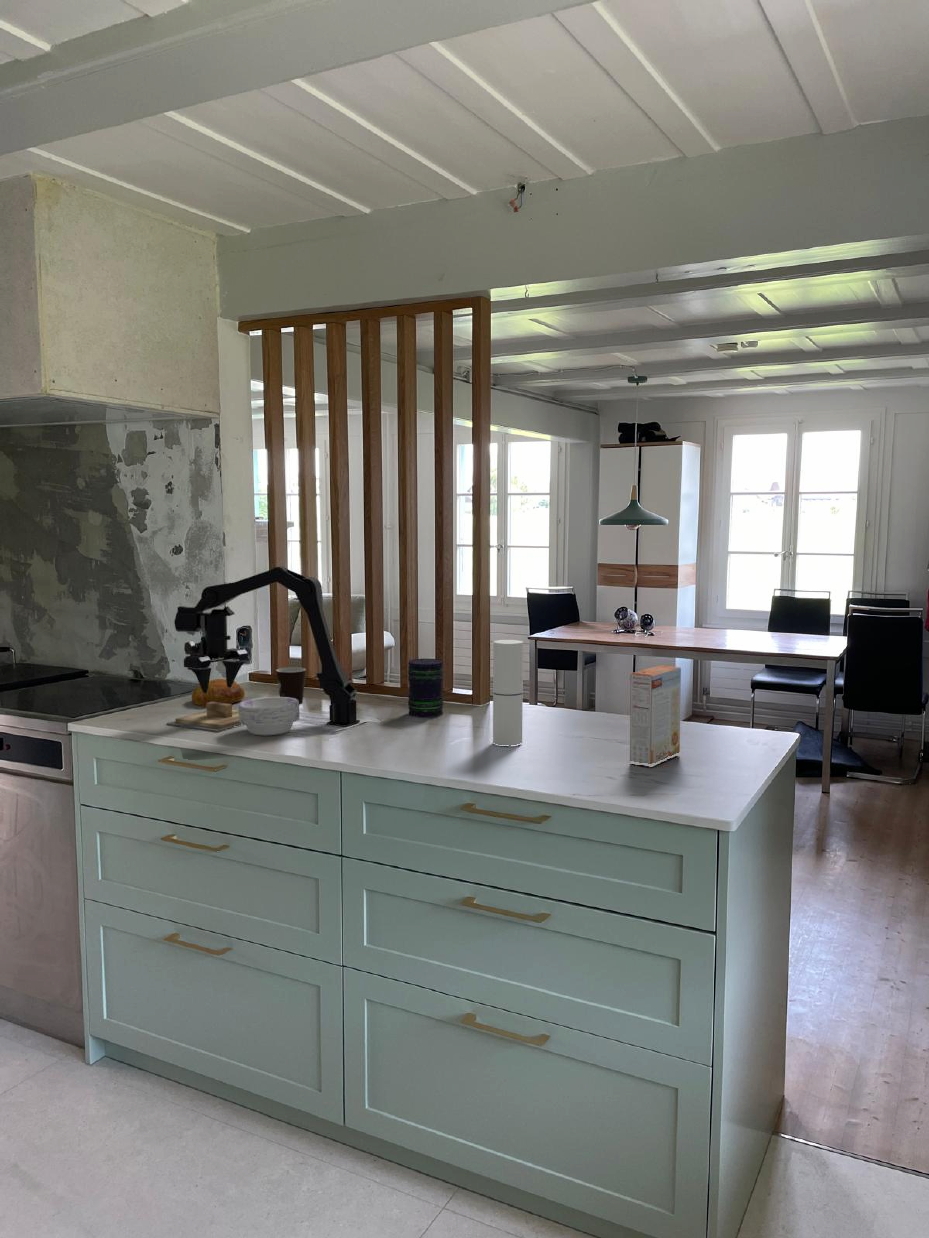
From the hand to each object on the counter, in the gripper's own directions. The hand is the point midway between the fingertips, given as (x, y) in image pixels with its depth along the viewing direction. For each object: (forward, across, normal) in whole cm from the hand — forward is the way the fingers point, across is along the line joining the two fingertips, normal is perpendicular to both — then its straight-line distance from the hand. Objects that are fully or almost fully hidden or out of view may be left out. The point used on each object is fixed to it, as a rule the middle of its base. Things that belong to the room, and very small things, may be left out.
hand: (217, 689), depth 249 cm
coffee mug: (+9, -30, +1) cm, 31 cm away
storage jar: (+8, -35, +44) cm, 57 cm away
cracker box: (+8, -17, +115) cm, 117 cm away
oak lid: (+8, 0, 0) cm, 8 cm away
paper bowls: (+9, +3, +20) cm, 22 cm away
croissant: (+9, -20, -19) cm, 29 cm away
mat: (+8, 0, 0) cm, 9 cm away
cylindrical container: (+8, -15, +79) cm, 81 cm away
